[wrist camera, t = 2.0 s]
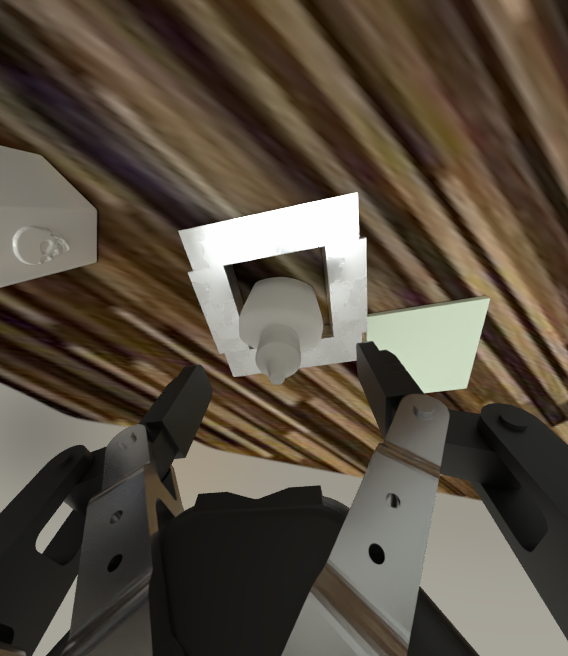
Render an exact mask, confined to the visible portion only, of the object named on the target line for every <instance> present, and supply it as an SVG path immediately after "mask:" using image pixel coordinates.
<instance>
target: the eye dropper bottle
mask: <svg viewBox="0 0 568 656" xmlns="http://www.w3.org/2000/svg"><path fill="white" fill-rule="evenodd" d="M322 331H323V320H322V316H321V312H320V309H319V305H318V302H317V298H316V295H315V292H314V289H313V288H312V287H311V286H310V285H308V284H306V283H304V282H302V281H300V280H297V279H293V278H288V277H272V278H267V279H263V280H260V281H258V282H256V283H255V284H254V286H253V288H252V290H251V292H250V294H249V296H248V298H247V300H246V302H245V305H244V307H243V309H242V311H241V314H240V317H239V336H240V338H241V340H242V341H243V342H244V343H246V344H247V345H249V346H251V347H252V348H255V349H257V352H256V356H255V357H256V358H255V361H256V365H257V367H258V369H259V370H260V371H261V372H262V373H263V374H265V375H267V376H269V380H270V382H271V383H272V384H274V385H280V384H282V383H283V382H284V379H285V378H286V377H289V376H291V375H292V374H294V373H295V372H296V371H297V370H298V368H299V366H300V364H301V353H303V352H307V351H309V350H312V349H314V348H316V347H317V346H318V345H319V343H320V341H321V337H322Z"/></svg>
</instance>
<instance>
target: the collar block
mask: <svg viewBox="0 0 568 656" xmlns="http://www.w3.org/2000/svg"><path fill="white" fill-rule="evenodd" d="M178 232H179V234H180V237H181V240H182V242H183V245H184V248H185V250H186V253H187V256H188V258H189V261H190V263H191V266H192V269H193V270H191V271H189V272H188V275H189V277H190V280H191V282H192V285H193V287H194V290H195V292H196V295H197V298H198V300H199V303H200V305H201V308H202V310H203V313H204V315H205V318H206V320H207V323H208V326H209V328H210V331H211V333H212V336H213V338H214V341H215V343H216V346H217V348H218V351H219V354H222V353H225V356H226V358H227V361H228V364H229V366H230V369H231V371H232V374H233V377H237V376H244V375H252V374H259V373H262V372H261V371H260V370H259V369H258V367H257V365H256V361H255V358H256V357H255V356H256V352H257V349H255V348H252V347H251V346H249V345H247V344H246V343H244V342H243V341H242V340H241V338H240V336H239V317H240V314H241V311H242V309H243V307H244V303H243V299H242V296H241V292H240V289H239V286H238V282H237V279H236V275H235V272H234V268H233V265H232V264H234V263H239V262H244V261H250V260H255V259H260V258H265V257H270V256H275V255H281V254H286V253H291V252H296V251H301V250H306V249H312V248H317V247H322V257H323V266H324V276H325V286H326V295H327V305H328V315H329V324H330V325H324V326H323V331H322V337H321V341H320V343H319V345H318V346H317V347H316V348H314V349H312V350H309V351H307V352H303V353H301V364H300V366H299V368H304V367H311V366H319V365H326V364H334V363H341V362H349V361H356V360H357V356H356V344H357V343H361V342H362V333H365V332H367V259H366V238H365V237H362V236H359V211H358V192H356V193H352V194H347V195H343V196H338V197H333V198H329V199H324V200H319V201H315V202H310V203H306V204H301V205H296V206H292V207H287V208H282V209H278V210H273V211H269V212H264V213H259V214H255V215H250V216H246V217H241V218H236V219H232V220H227V221H222V222H218V223H213V224H209V225H204V226H199V227H195V228H190V229H185V230H181V231H178Z"/></svg>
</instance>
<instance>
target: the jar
mask: <svg viewBox="0 0 568 656" xmlns="http://www.w3.org/2000/svg"><path fill="white" fill-rule="evenodd" d="M96 262H97V210H96V208H95V207H94V206H93V205H92V204H91V203H89V202H88V201H87V200H86V199H85V198H84V197H83V196H82V195H81V194H80V193H79V192H78V191H77V190H76V189H75V188H74V187H73V186H72V185H71V184H70V183H69V182H68V181H67V180H66V179H65V178H64V177H63V176H62V175H61V174H60V173H59V172H58V171H57V170H56V169H55V168H54V167H53V166H52V165H51V164H50V163H49V162H48V161H47V160H46V159H45V158H44V157H43V156H41V155H39V154H35V153H31V152H26V151H22V150H18V149H13V148H9V147H5V146H0V287H4V286H8V285H12V284H16V283H19V282H23V281H27V280H31V279H35V278H39V277H43V276H47V275H50V274H54V273H58V272H62V271H66V270H70V269H74V268H78V267H81V266H85V265H89V264H93V263H96Z"/></svg>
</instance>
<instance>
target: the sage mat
mask: <svg viewBox="0 0 568 656" xmlns="http://www.w3.org/2000/svg"><path fill="white" fill-rule="evenodd" d="M489 301H490V298H489V297H487V296H481V297H475V298H468V299H462V300H456V301H449V302H443V303H436V304H430V305H423V306H417V307H411V308H404V309H398V310H391V311H385V312H379V313H372V314H367V332H365V342H368V341H373V342H374V343H375V345H376V346H377V348H378V349H379V350H388V351H389V352H391V353H393V354H394V355H396V356H397V358H398V359H399V360H400V362H401V364H403V366H404V367H405V368H406V371H408V372H409V374H410V375H411V377H412V378H413V379H414V381H415V382H416V383H417V385H418V386H419V387H420V389H421V390H422V391H423V393H429V392H438V391H446V390H455V389H464V388H467V385H468V381H469V377H470V373H471V370H472V366H473V362H474V358H475V354H476V351H477V347H478V343H479V339H480V335H481V332H482V328H483V324H484V320H485V316H486V313H487V309H488V305H489Z"/></svg>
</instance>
